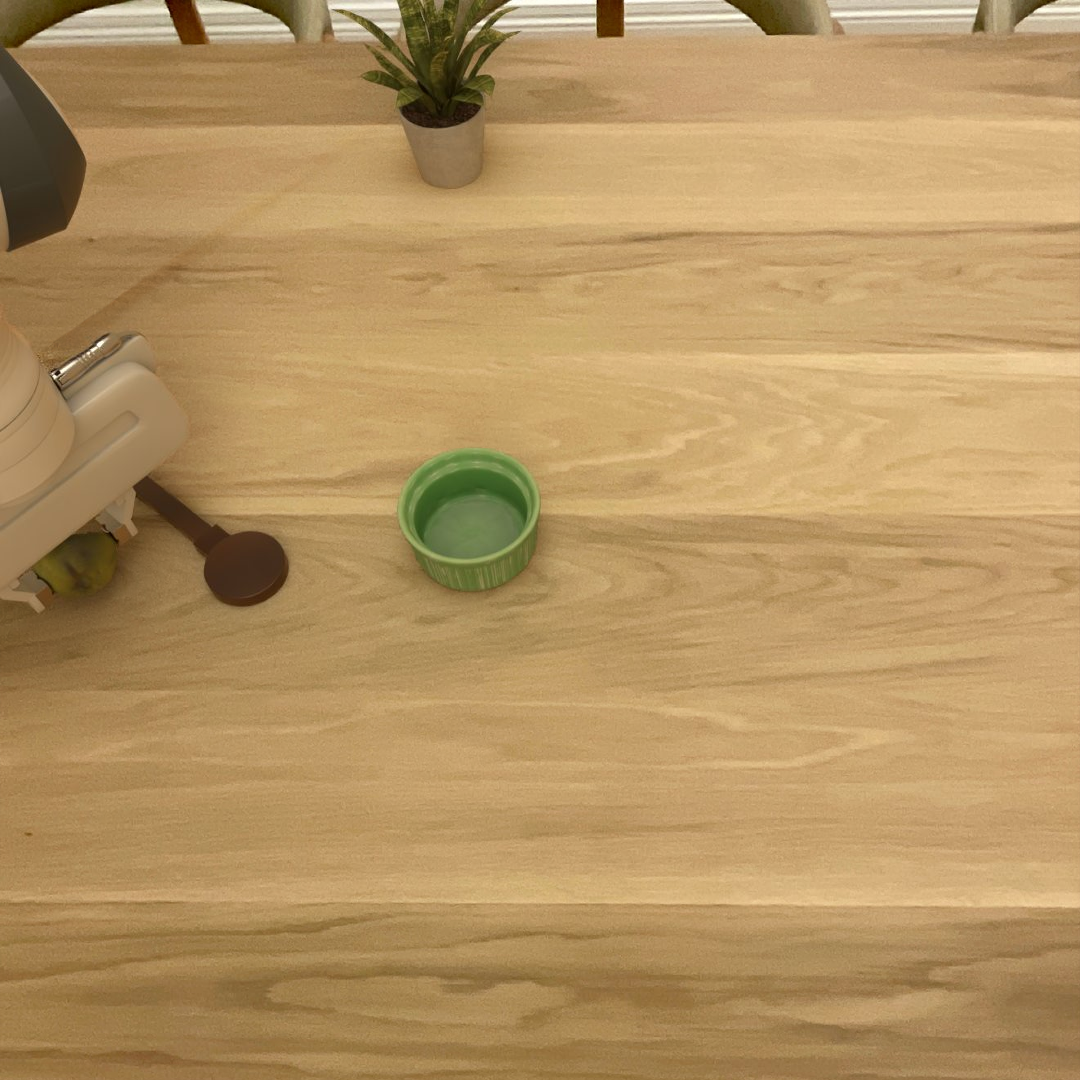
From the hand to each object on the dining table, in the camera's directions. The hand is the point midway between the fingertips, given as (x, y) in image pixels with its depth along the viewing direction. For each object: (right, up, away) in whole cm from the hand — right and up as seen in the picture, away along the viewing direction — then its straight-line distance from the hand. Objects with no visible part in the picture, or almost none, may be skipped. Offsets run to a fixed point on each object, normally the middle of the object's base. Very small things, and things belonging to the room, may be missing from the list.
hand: (82, 567), depth 74 cm
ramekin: (+25, +2, +3) cm, 25 cm away
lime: (0, -1, +2) cm, 2 cm away
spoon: (+6, +2, +4) cm, 8 cm away
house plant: (+22, +33, +23) cm, 46 cm away
